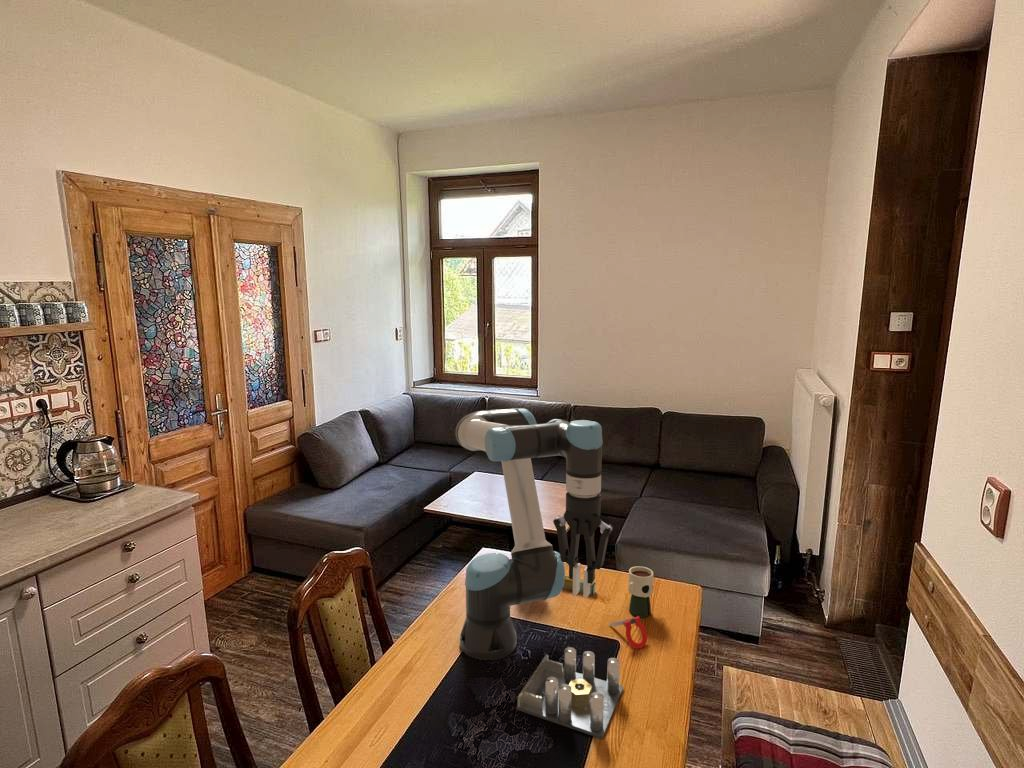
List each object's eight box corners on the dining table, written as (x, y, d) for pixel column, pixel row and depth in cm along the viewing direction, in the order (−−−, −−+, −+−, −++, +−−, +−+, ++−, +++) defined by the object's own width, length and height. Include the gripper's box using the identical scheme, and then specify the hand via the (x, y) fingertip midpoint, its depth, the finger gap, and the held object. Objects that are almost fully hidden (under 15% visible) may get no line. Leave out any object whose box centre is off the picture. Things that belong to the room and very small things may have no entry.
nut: (564, 703, 127) (565, 691, 126) (573, 687, 132) (573, 676, 131) (586, 710, 124) (586, 698, 124) (593, 694, 130) (594, 682, 129)
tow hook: (633, 651, 146) (623, 622, 148) (609, 653, 154) (600, 626, 156) (651, 643, 149) (641, 614, 152) (627, 645, 157) (618, 618, 160)
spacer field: (516, 709, 126) (516, 677, 125) (545, 665, 141) (545, 637, 140) (602, 739, 117) (603, 705, 116) (623, 689, 132) (624, 659, 131)
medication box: (595, 594, 176) (596, 582, 176) (593, 598, 173) (594, 585, 173) (559, 585, 181) (560, 573, 180) (556, 589, 178) (557, 576, 178)
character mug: (639, 625, 159) (640, 582, 157) (618, 615, 164) (619, 573, 162) (660, 611, 166) (662, 570, 164) (640, 601, 171) (641, 561, 169)
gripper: (545, 492, 121) (544, 594, 124) (612, 503, 114) (609, 610, 118) (557, 482, 128) (556, 579, 131) (621, 492, 121) (618, 593, 125)
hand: (581, 593), depth 124 cm, fingers closed
